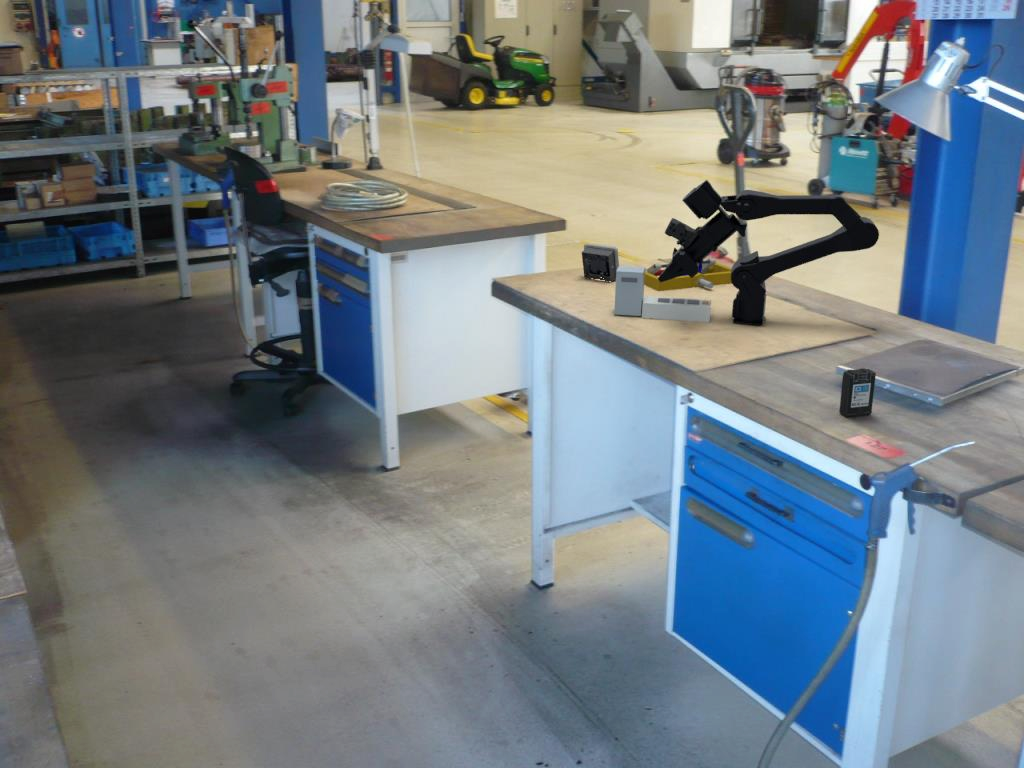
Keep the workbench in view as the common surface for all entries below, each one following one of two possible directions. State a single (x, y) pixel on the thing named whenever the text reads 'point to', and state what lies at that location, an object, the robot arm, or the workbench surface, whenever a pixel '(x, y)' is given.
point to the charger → (629, 290)
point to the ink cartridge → (857, 392)
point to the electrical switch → (600, 262)
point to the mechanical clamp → (706, 276)
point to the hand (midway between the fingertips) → (659, 280)
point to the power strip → (676, 309)
